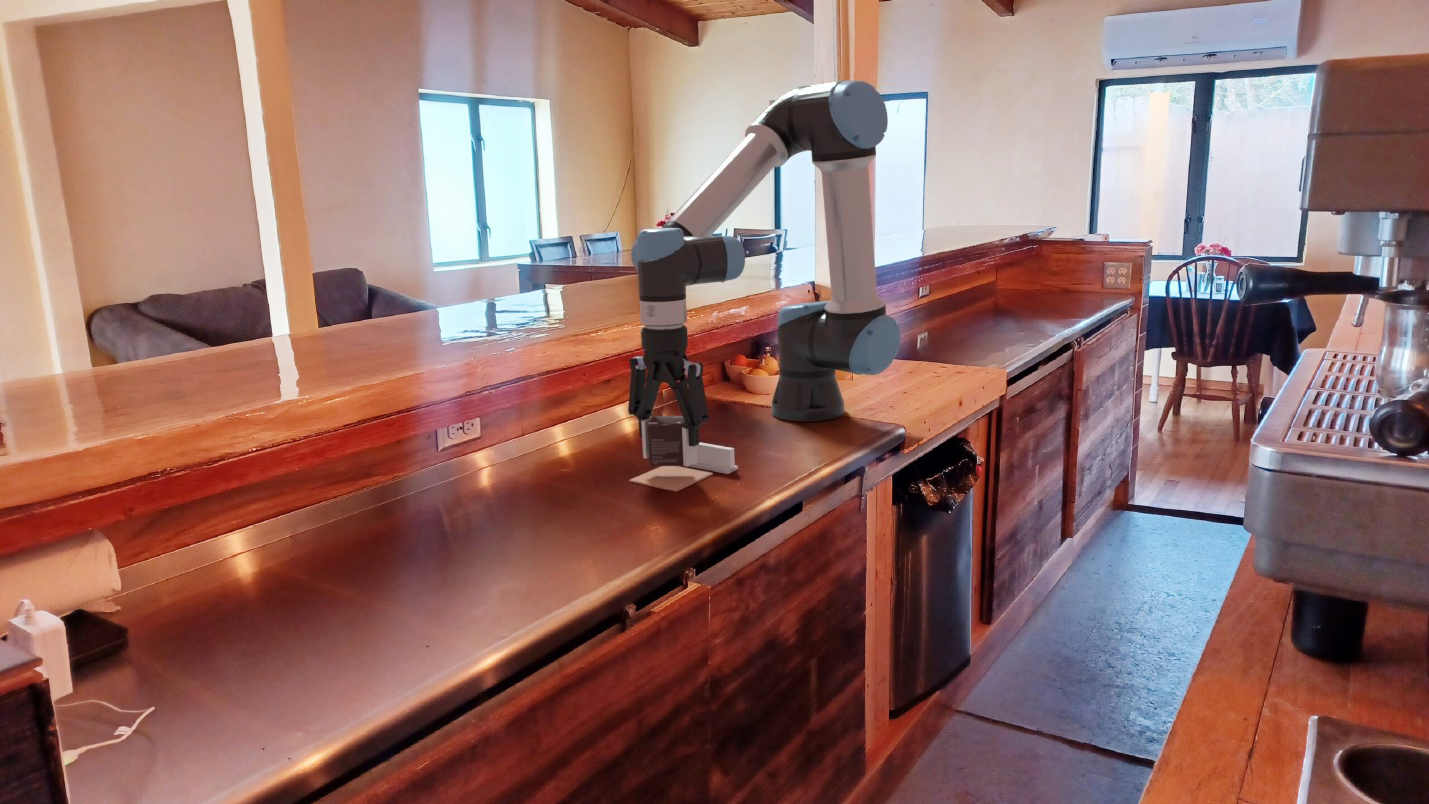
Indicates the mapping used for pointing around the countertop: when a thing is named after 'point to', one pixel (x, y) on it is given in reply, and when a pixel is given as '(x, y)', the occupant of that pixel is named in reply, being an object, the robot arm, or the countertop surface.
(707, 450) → the divider wall
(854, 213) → the robot arm
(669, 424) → the box
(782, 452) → the countertop surface
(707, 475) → the pad
